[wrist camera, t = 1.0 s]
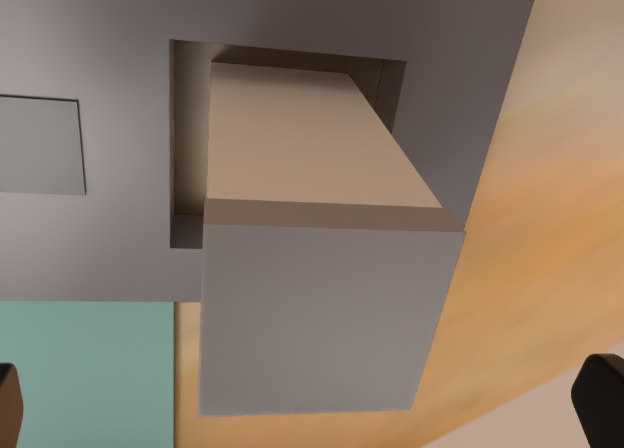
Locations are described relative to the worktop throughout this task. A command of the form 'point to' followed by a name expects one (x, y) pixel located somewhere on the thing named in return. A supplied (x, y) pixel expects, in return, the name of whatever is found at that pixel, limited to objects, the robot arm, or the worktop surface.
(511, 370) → the worktop surface
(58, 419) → the teal mat
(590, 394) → the robot arm
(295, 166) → the beige grey rectangular block
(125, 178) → the grey panel
